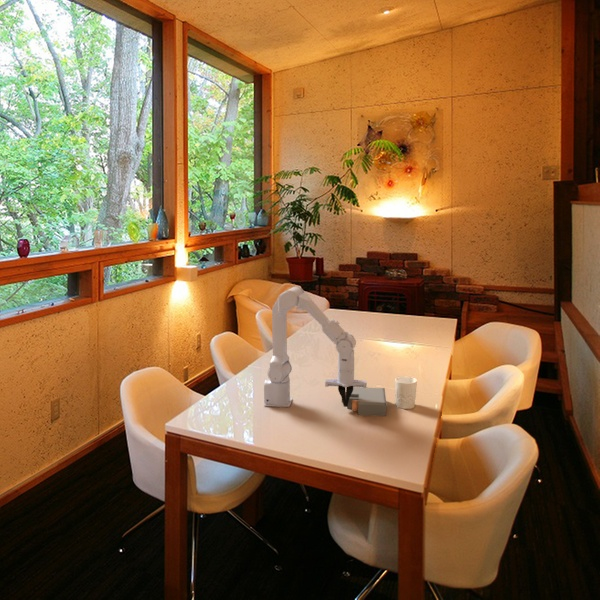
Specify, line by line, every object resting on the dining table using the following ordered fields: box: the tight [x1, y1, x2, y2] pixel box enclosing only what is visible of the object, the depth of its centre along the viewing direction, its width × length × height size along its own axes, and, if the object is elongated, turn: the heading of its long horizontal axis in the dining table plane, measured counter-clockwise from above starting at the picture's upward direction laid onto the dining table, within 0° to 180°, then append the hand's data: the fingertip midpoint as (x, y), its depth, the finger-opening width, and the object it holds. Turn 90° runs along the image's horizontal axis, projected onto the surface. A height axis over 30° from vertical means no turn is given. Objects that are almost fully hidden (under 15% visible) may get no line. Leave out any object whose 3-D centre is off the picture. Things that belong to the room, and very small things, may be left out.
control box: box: [347, 387, 387, 417], centre depth 188 cm, size 14×14×5 cm
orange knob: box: [351, 400, 358, 412], centre depth 184 cm, size 11×4×4 cm, turn 83°
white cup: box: [394, 375, 418, 410], centre depth 189 cm, size 8×8×10 cm
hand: (345, 405), depth 185 cm, fingers closed
